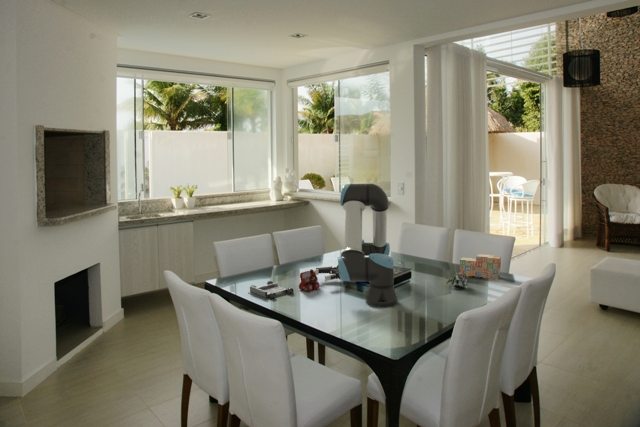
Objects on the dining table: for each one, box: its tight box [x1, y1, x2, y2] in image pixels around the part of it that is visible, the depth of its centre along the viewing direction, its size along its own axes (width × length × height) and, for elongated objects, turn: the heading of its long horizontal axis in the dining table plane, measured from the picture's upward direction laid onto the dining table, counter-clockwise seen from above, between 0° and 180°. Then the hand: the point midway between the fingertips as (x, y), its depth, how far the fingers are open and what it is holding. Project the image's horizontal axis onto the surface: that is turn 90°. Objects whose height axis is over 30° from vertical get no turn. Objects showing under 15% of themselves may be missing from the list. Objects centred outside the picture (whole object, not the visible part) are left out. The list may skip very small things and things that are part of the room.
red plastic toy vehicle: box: [298, 269, 320, 293], centre depth 248 cm, size 7×12×10 cm, turn 138°
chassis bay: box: [248, 280, 294, 300], centre depth 244 cm, size 20×18×4 cm
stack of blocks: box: [459, 253, 502, 280], centre depth 266 cm, size 21×6×12 cm, turn 58°
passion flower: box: [445, 269, 470, 289], centre depth 245 cm, size 11×11×12 cm
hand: (317, 276), depth 252 cm, fingers open, 13 cm apart
